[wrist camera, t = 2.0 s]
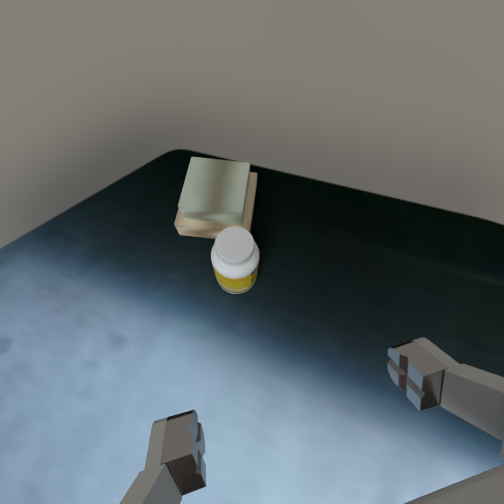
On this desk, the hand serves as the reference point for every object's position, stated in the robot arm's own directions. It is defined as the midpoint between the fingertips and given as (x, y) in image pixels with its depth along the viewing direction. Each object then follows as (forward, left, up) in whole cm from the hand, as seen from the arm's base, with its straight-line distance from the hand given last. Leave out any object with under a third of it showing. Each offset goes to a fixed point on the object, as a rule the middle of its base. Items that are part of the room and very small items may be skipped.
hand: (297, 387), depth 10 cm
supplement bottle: (-5, +12, -22) cm, 25 cm away
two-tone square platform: (-9, +22, -21) cm, 32 cm away
